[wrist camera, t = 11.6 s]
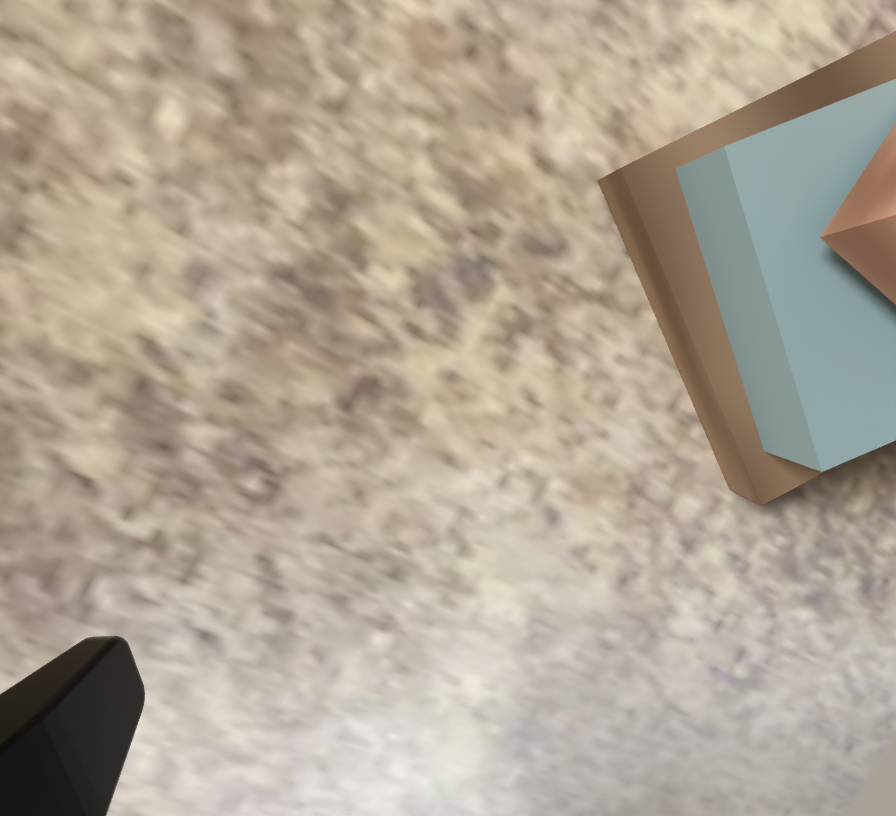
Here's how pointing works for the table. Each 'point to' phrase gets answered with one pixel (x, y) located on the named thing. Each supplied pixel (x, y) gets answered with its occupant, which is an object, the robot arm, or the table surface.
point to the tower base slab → (685, 274)
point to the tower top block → (800, 280)
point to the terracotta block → (870, 221)
